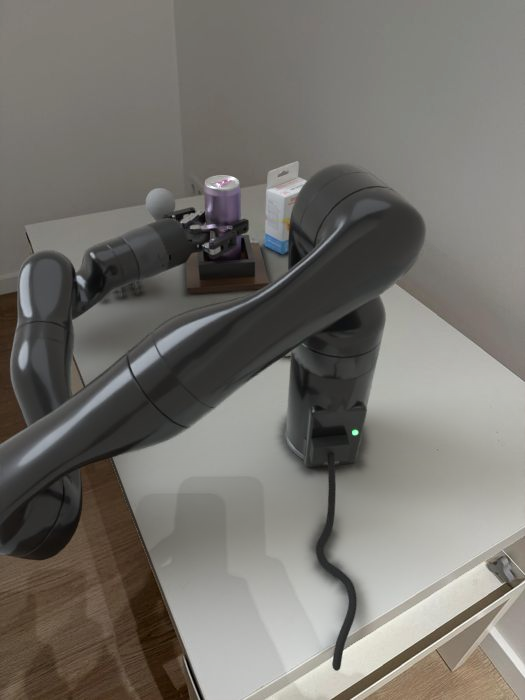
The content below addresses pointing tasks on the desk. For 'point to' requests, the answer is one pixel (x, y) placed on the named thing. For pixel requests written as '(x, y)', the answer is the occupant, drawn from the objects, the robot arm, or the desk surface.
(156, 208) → the light bulb
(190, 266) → the base pad
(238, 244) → the beverage can
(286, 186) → the ink box
